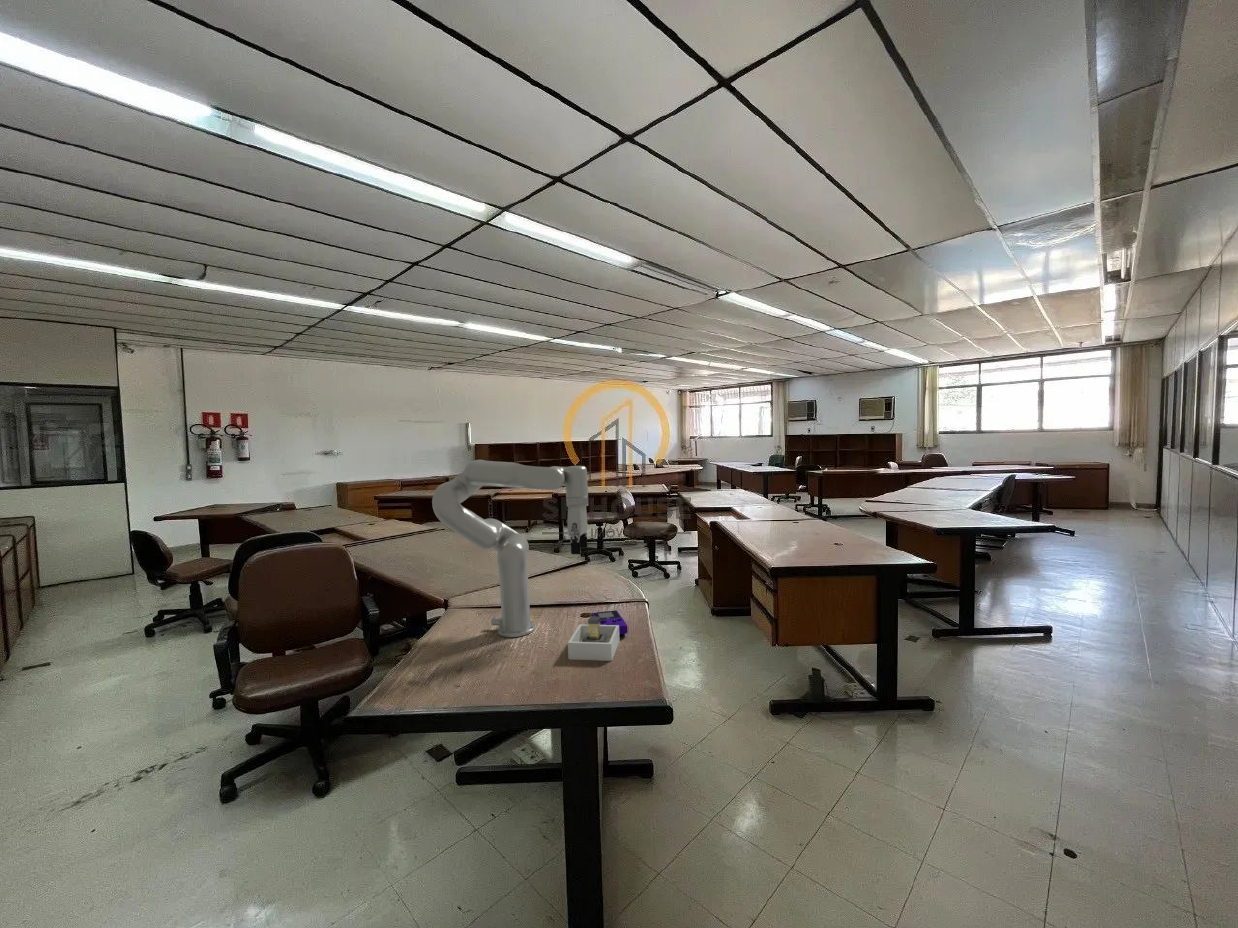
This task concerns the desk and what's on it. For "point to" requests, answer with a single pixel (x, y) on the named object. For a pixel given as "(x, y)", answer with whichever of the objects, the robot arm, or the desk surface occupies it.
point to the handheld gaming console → (612, 620)
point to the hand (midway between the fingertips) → (579, 550)
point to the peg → (594, 628)
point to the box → (594, 644)
